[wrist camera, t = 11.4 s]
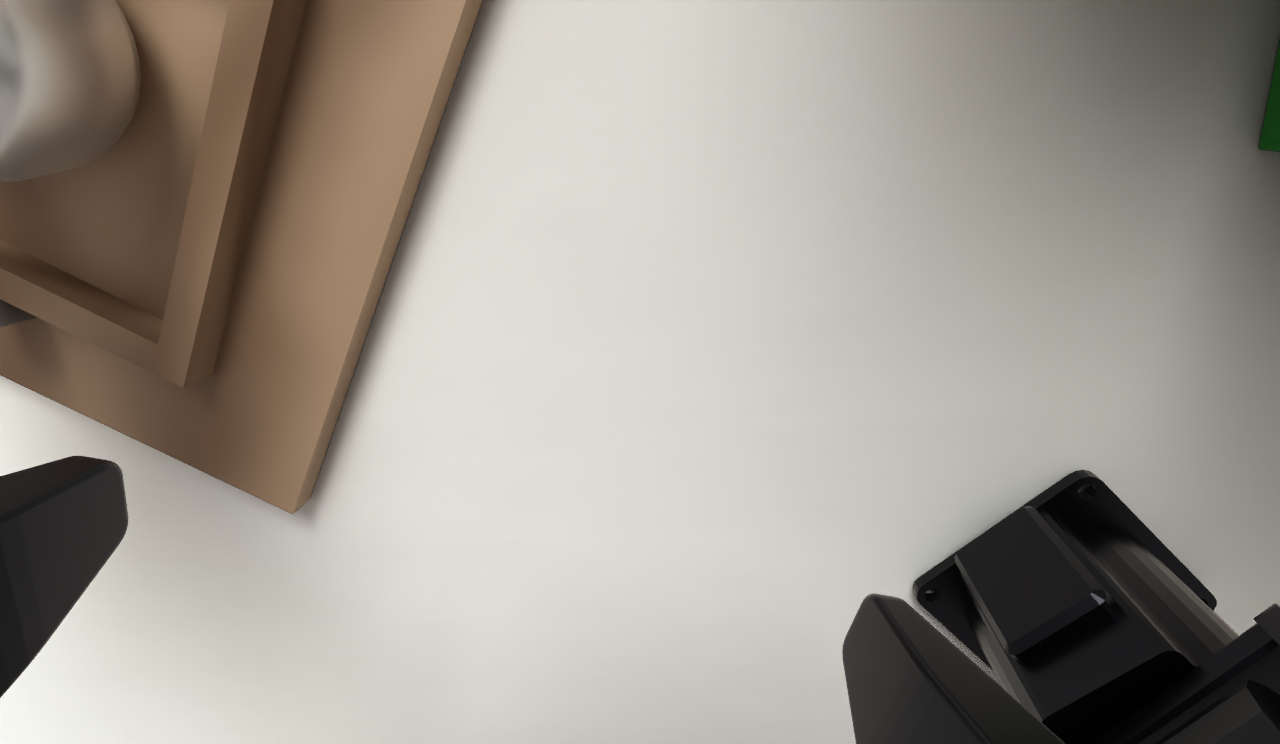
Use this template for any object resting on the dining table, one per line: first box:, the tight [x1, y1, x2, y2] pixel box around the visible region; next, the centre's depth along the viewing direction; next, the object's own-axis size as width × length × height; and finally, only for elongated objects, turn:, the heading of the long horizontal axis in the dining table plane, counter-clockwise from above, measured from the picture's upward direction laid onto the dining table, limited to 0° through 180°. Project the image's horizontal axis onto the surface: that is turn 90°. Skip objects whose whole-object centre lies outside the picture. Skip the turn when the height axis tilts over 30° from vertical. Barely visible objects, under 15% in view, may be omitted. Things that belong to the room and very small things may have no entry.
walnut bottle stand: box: [0, 0, 483, 514], centre depth 17 cm, size 20×20×3 cm
